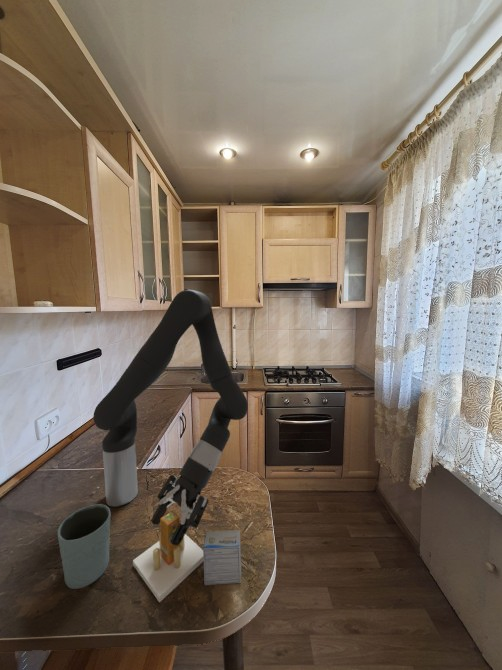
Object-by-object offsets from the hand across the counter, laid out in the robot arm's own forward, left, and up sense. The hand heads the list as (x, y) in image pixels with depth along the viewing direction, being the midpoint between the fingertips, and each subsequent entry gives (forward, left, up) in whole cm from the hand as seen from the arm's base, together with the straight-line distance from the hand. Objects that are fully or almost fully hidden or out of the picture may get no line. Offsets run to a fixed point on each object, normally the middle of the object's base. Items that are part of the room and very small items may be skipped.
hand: (163, 533), depth 57 cm
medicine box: (+12, +7, -8) cm, 16 cm away
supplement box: (0, +1, -7) cm, 7 cm away
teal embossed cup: (-13, -12, -8) cm, 19 cm away
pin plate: (0, +1, -8) cm, 8 cm away
